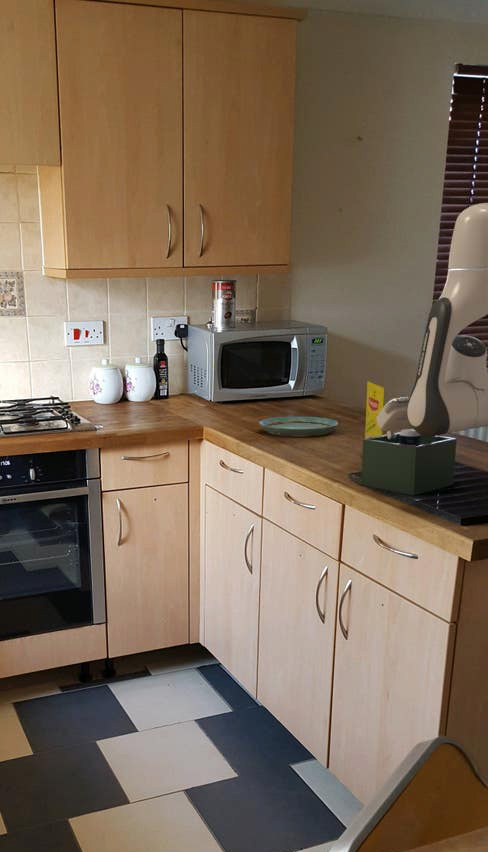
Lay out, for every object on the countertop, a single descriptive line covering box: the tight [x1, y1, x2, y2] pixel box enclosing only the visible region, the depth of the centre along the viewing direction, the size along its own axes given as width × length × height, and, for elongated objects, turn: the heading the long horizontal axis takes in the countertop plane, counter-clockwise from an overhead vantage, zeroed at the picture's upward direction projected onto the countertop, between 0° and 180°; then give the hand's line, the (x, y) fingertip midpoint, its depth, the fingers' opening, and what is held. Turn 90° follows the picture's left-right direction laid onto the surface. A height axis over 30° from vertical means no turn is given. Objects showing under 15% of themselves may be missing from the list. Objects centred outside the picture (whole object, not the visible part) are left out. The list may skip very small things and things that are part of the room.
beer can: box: [399, 429, 421, 446], centre depth 198 cm, size 5×5×12 cm
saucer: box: [259, 416, 339, 438], centre depth 274 cm, size 24×24×3 cm
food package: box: [364, 381, 385, 439], centre depth 223 cm, size 15×1×20 cm, turn 2°
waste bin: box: [360, 431, 458, 496], centre depth 199 cm, size 15×15×11 cm
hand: (409, 435), depth 197 cm, fingers open, 8 cm apart
